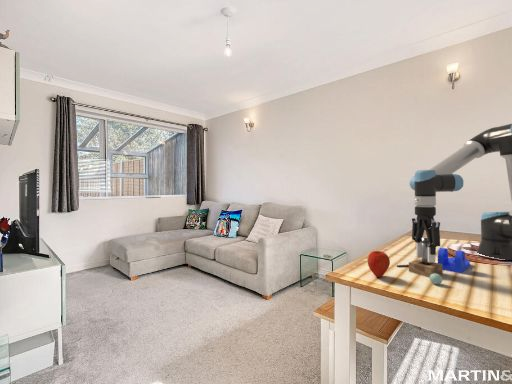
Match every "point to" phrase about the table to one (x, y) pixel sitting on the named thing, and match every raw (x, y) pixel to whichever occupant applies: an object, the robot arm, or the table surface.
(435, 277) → the loose teal bead
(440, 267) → the square wooden ring
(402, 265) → the thin dark grey rod
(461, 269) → the bracket
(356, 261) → the table surface
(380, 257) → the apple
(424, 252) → the grey metal cylinder rod
